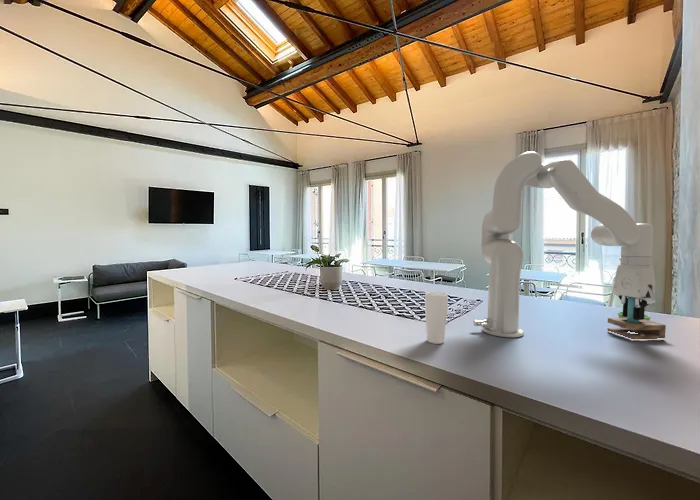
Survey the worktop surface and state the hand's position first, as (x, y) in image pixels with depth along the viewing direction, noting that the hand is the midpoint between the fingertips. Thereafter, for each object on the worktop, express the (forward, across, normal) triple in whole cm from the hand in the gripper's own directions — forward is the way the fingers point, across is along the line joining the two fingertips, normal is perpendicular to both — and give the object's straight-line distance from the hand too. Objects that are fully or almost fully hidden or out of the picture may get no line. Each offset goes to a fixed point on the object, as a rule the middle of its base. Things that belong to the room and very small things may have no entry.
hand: (633, 317), depth 105 cm
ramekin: (+7, -12, +12) cm, 18 cm away
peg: (+3, 0, 0) cm, 3 cm away
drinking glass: (+6, +1, -66) cm, 66 cm away
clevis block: (+6, 0, 0) cm, 6 cm away
